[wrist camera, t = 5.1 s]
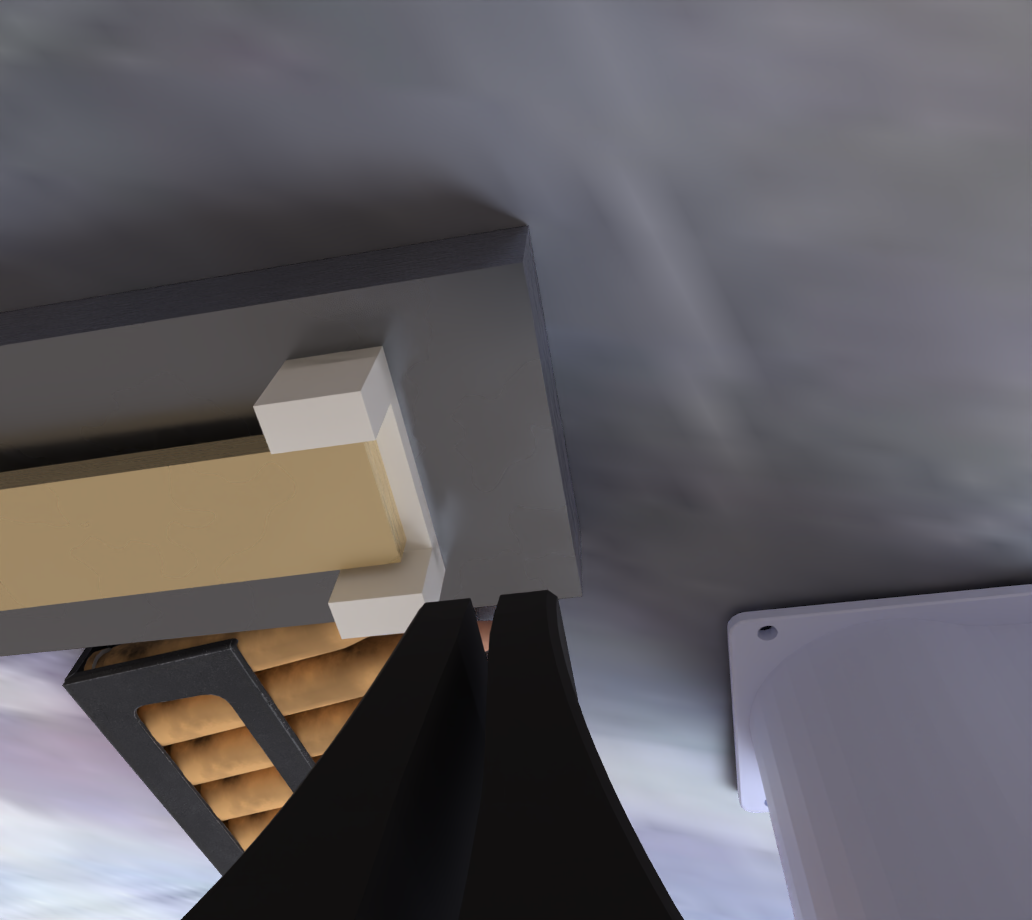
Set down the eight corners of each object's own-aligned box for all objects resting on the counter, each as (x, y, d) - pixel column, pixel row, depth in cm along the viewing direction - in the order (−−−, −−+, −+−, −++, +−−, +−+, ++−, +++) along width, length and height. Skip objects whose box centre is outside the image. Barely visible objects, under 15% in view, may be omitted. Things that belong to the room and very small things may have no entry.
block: (528, 225, 17) (517, 295, 14) (580, 532, 21) (584, 651, 18) (-250, 354, 20) (-437, 443, 16) (-72, 606, 24) (-189, 724, 20)
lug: (382, 345, 16) (360, 391, 14) (445, 569, 19) (433, 630, 17) (285, 360, 16) (253, 406, 15) (361, 579, 19) (341, 639, 17)
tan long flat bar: (372, 414, 17) (360, 443, 16) (408, 533, 18) (399, 568, 17) (-258, 505, 18) (-307, 537, 17) (-178, 607, 20) (-218, 642, 19)
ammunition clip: (263, 855, 29) (593, 786, 27) (248, 907, 27) (598, 837, 25) (91, 635, 24) (481, 529, 22) (60, 682, 22) (477, 572, 20)
